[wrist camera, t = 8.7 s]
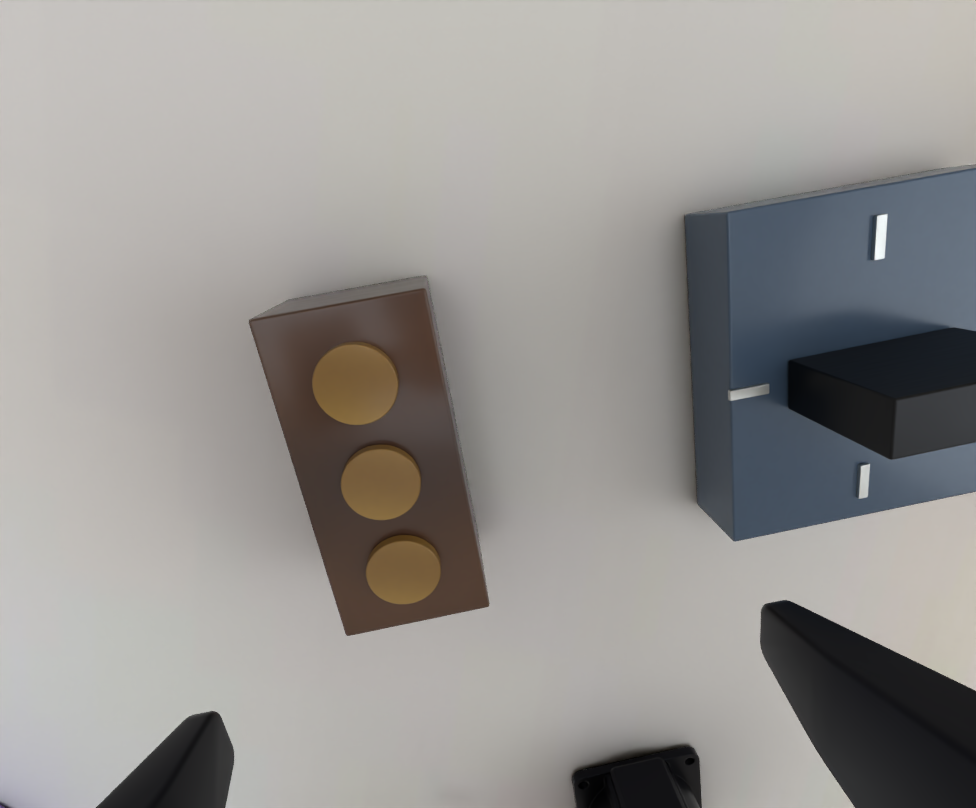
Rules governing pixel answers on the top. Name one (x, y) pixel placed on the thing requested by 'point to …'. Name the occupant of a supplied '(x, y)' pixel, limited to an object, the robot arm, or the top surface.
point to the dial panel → (819, 341)
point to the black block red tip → (893, 392)
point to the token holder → (376, 450)
